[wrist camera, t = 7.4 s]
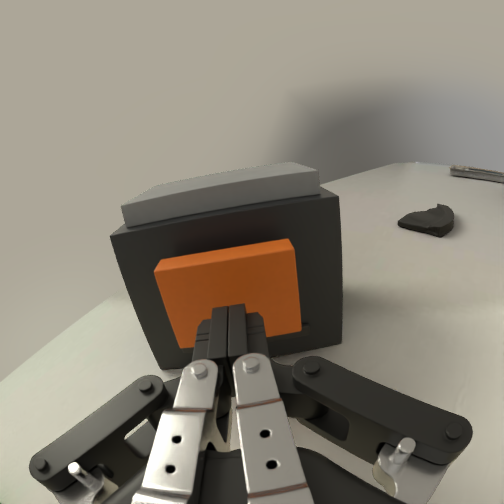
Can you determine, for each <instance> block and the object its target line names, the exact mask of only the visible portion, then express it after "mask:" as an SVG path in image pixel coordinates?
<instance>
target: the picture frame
mask: <svg viewBox="0 0 504 504" xmlns="http://www.w3.org/2000/svg"><path fill="white" fill-rule="evenodd" d="M450 175H455V176H463V177H471V178H478V179H485V180H490V181H494V182H495V181H496V182H501V183H504V173H502V172H497V171H492V170H485V169H478V168H472V167H465V166H457V165H452V166H451V167H450Z"/></svg>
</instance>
